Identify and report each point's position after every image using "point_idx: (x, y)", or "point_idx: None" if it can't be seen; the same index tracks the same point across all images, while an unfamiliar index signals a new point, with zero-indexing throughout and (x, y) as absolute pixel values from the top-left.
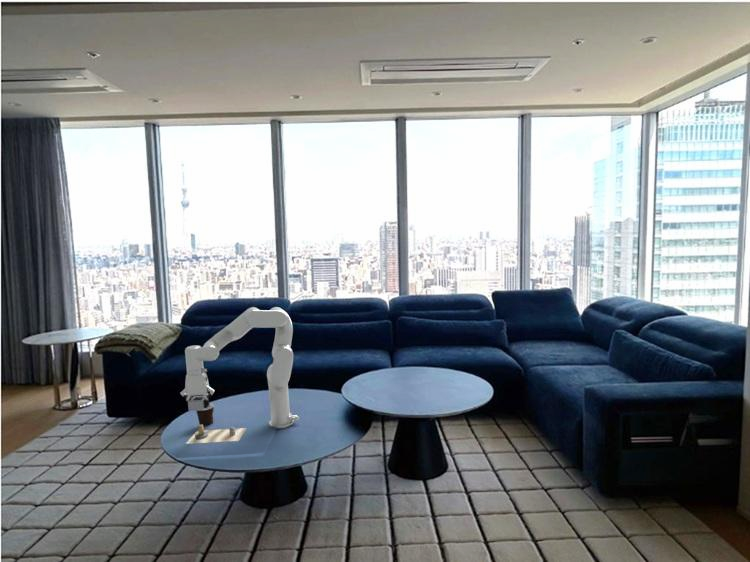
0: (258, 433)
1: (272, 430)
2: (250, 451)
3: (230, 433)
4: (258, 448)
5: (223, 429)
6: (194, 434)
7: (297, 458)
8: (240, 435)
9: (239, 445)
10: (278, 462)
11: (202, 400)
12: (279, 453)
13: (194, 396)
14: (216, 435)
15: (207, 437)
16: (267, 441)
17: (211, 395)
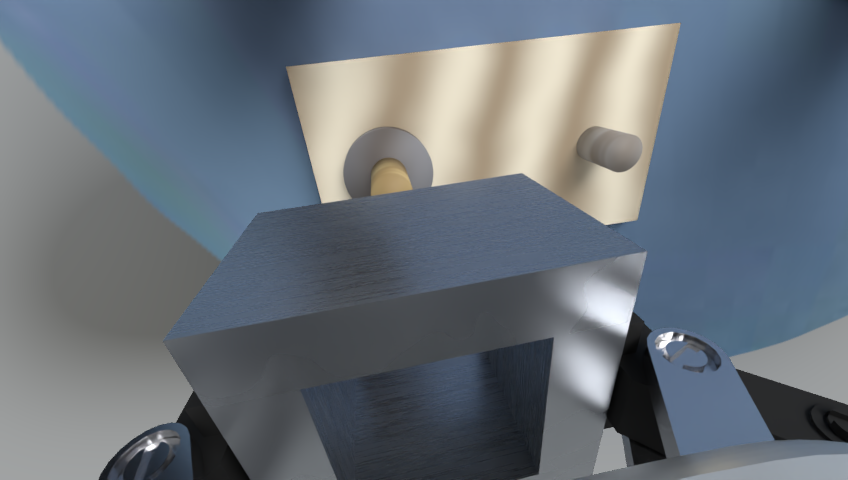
0: (735, 83)
1: (826, 34)
2: (683, 282)
3: (592, 162)
4: (717, 256)
5: (506, 47)
6: (311, 139)
7: (839, 312)
8: (642, 153)
9: (632, 235)
10: (772, 339)
11: (573, 474)
12: (791, 287)
13: (199, 340)
14: (487, 155)
15: (437, 185)
16: (767, 188)
17: (814, 401)
